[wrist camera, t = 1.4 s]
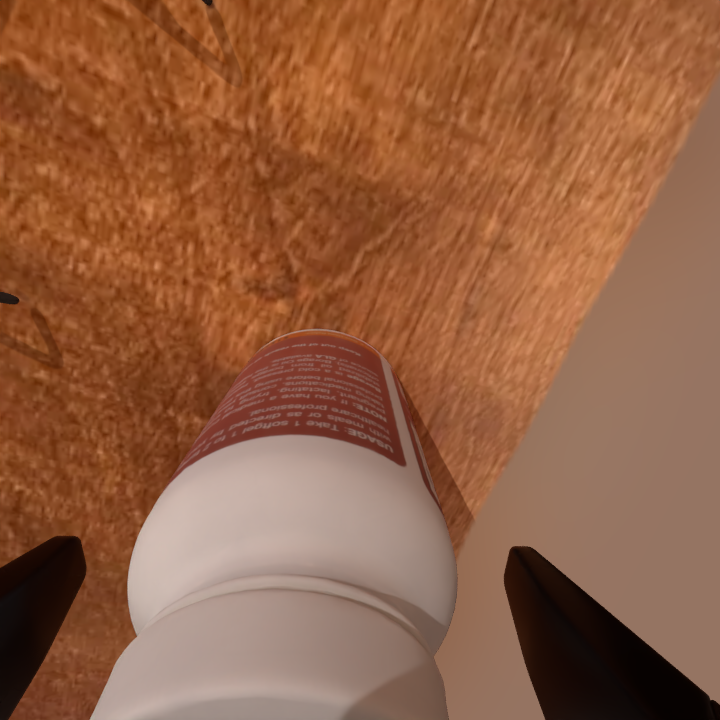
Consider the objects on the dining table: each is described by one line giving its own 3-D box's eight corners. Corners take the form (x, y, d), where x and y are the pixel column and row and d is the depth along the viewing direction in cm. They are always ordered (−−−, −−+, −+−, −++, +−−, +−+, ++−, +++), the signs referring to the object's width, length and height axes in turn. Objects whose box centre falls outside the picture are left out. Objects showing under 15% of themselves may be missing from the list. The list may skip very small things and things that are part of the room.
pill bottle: (203, 402, 15) (-133, 833, 5) (319, 287, 14) (228, 520, 3) (321, 500, 17) (277, 982, 6) (436, 406, 15) (627, 816, 5)
